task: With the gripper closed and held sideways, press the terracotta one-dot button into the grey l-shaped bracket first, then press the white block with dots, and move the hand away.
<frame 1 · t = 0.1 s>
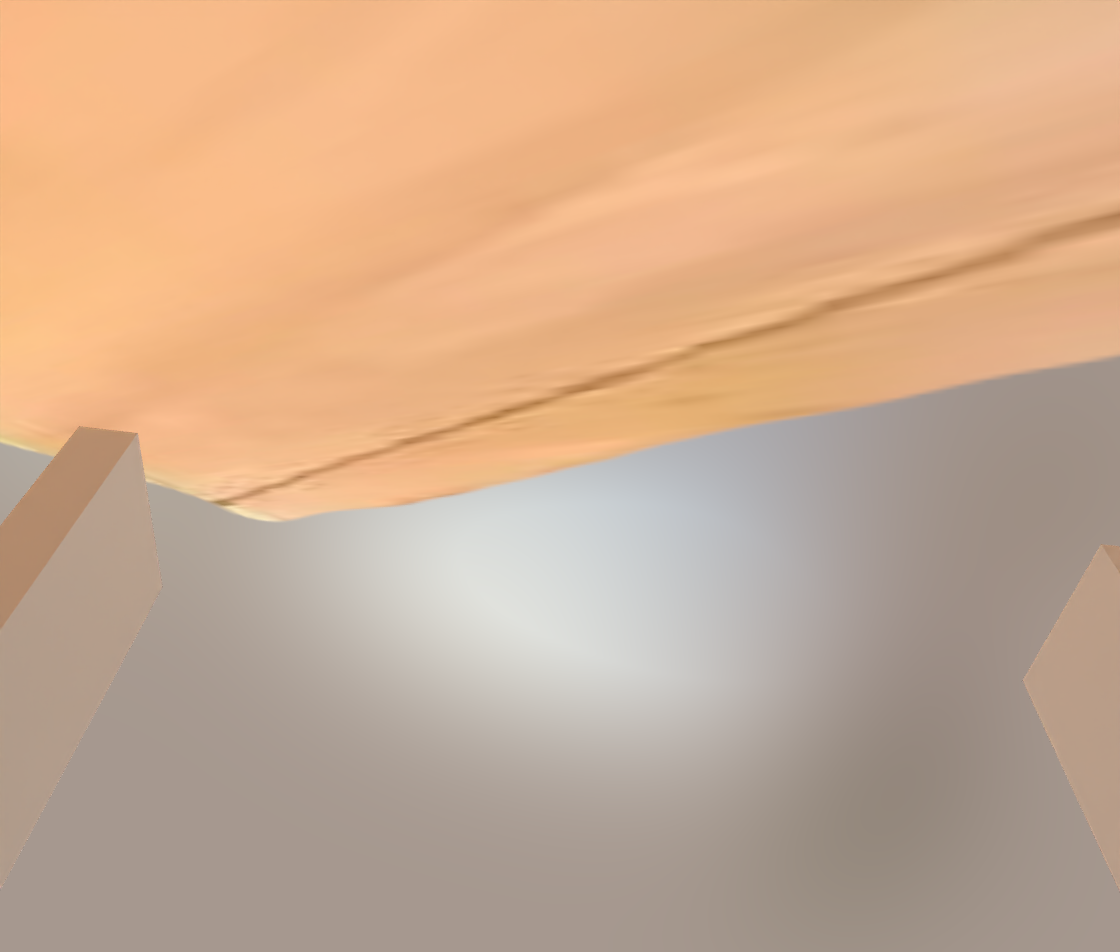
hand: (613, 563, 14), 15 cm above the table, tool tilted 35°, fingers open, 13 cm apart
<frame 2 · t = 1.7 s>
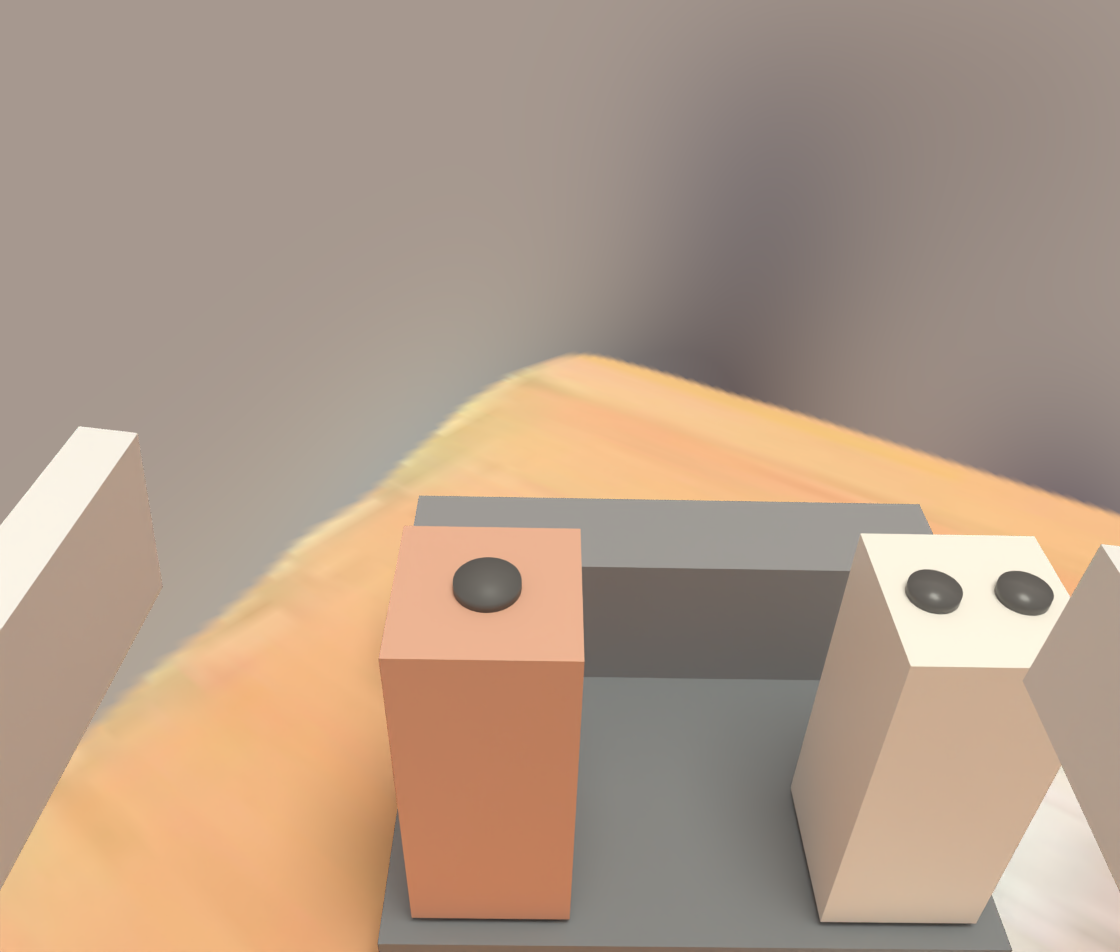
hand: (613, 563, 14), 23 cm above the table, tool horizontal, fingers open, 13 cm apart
button terracotta: (491, 730, 29), point 8 cm above the table, slide at 5.0 cm
white block with dots: (922, 736, 30), point 8 cm above the table, slide at 5.0 cm
grey l-shaped bracket: (661, 710, 41), on the table
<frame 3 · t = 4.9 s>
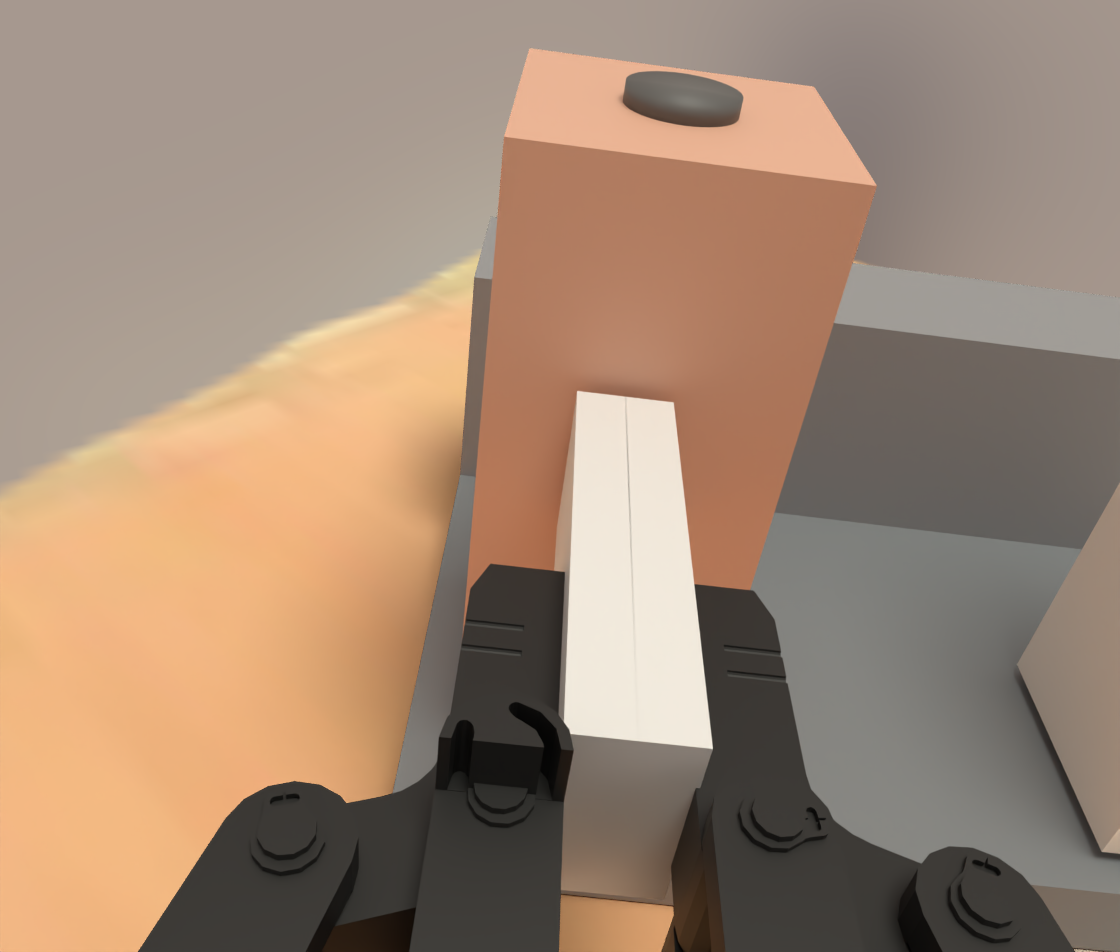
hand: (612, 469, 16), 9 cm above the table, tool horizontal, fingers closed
button terracotta: (621, 426, 18), point 8 cm above the table, slide at 3.8 cm, touching gripper
grey l-shaped bracket: (793, 569, 29), on the table
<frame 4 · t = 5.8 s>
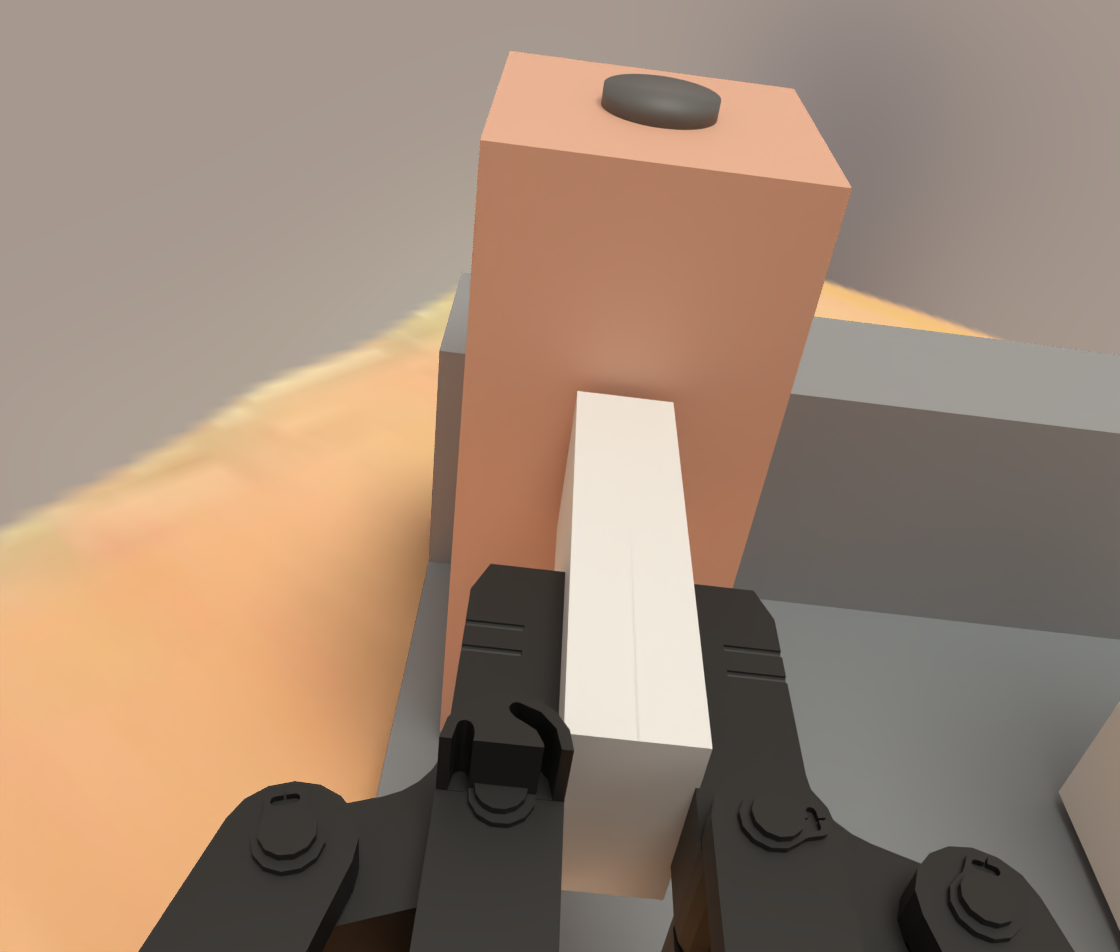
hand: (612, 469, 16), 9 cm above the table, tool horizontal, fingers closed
button terracotta: (604, 427, 19), point 8 cm above the table, slide at 0.1 cm
grey l-shaped bracket: (801, 660, 26), on the table
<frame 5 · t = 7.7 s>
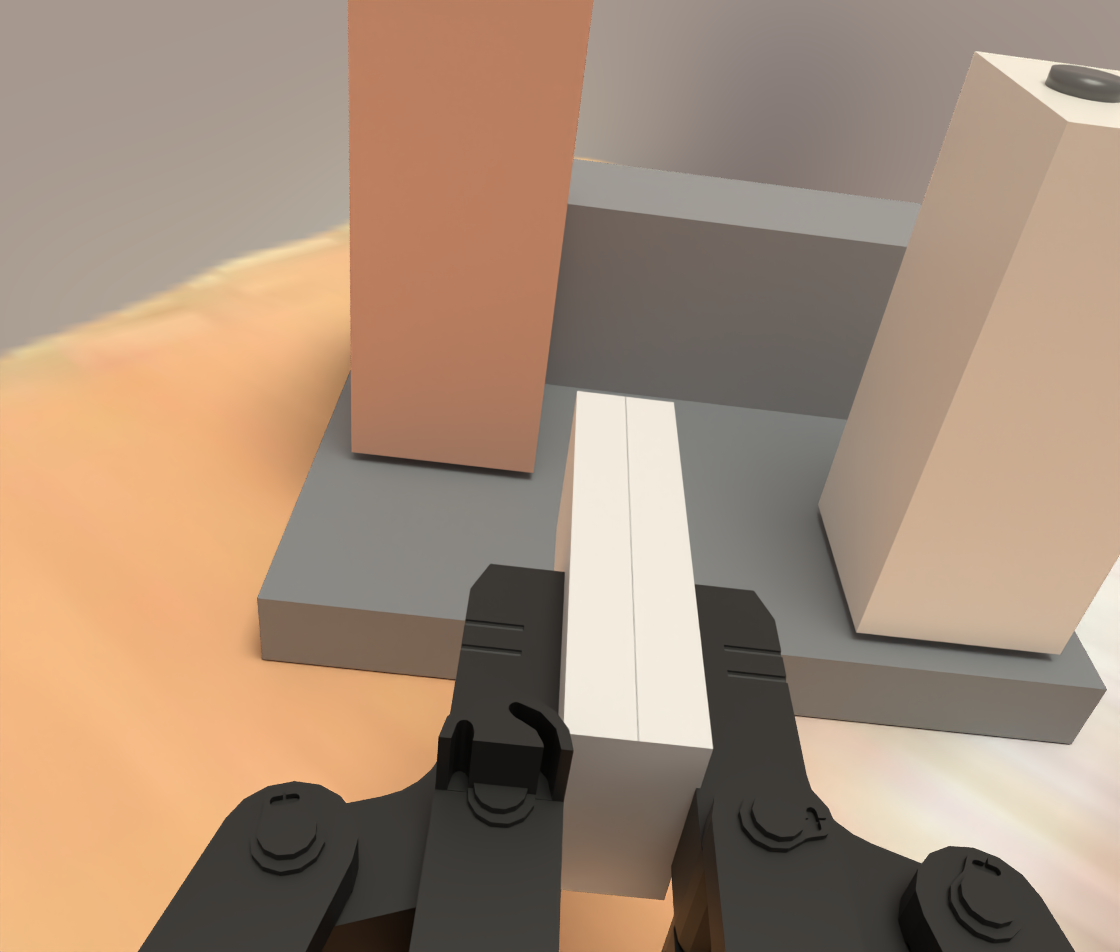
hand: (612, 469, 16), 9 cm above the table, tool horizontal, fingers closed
button terracotta: (466, 213, 25), point 8 cm above the table, slide at 0.0 cm
white block with dots: (1023, 368, 22), point 8 cm above the table, slide at 5.0 cm
grey l-shaped bracket: (653, 448, 33), on the table
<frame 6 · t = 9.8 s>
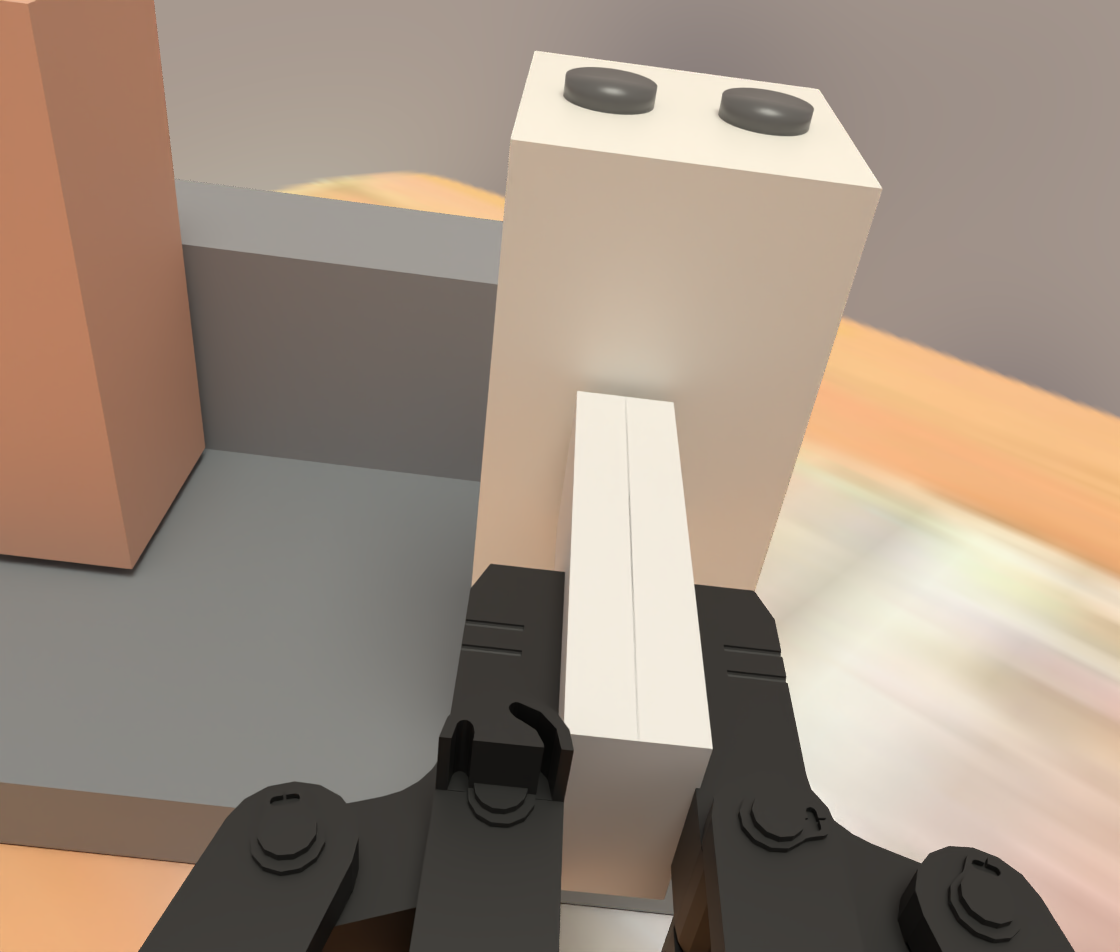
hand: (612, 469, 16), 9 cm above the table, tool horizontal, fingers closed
button terracotta: (20, 262, 21), point 8 cm above the table, slide at 0.0 cm
white block with dots: (626, 427, 18), point 8 cm above the table, slide at 3.6 cm, touching gripper
grey l-shaped bracket: (355, 522, 28), on the table
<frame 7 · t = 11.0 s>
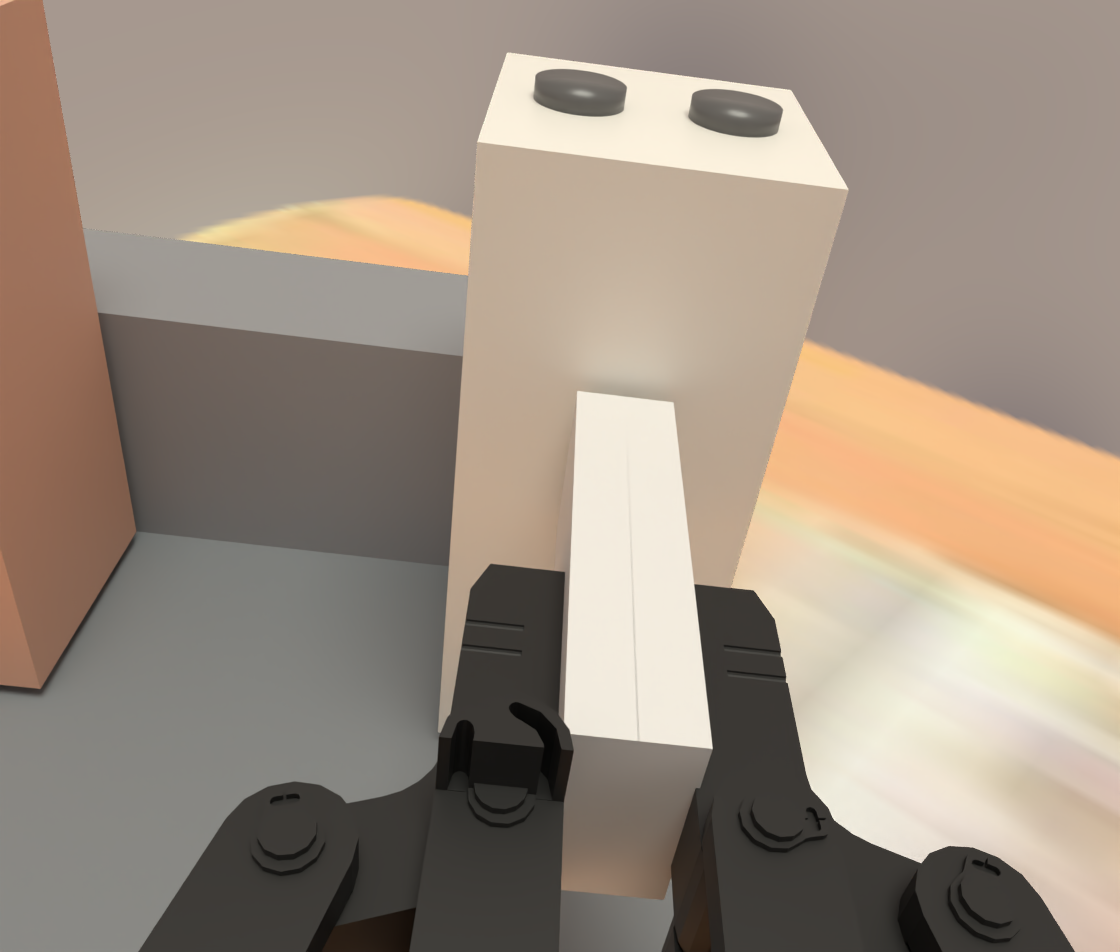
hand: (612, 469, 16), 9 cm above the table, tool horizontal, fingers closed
white block with dots: (602, 428, 19), point 8 cm above the table, slide at 0.1 cm, touching gripper
grey l-shaped bracket: (308, 608, 26), on the table
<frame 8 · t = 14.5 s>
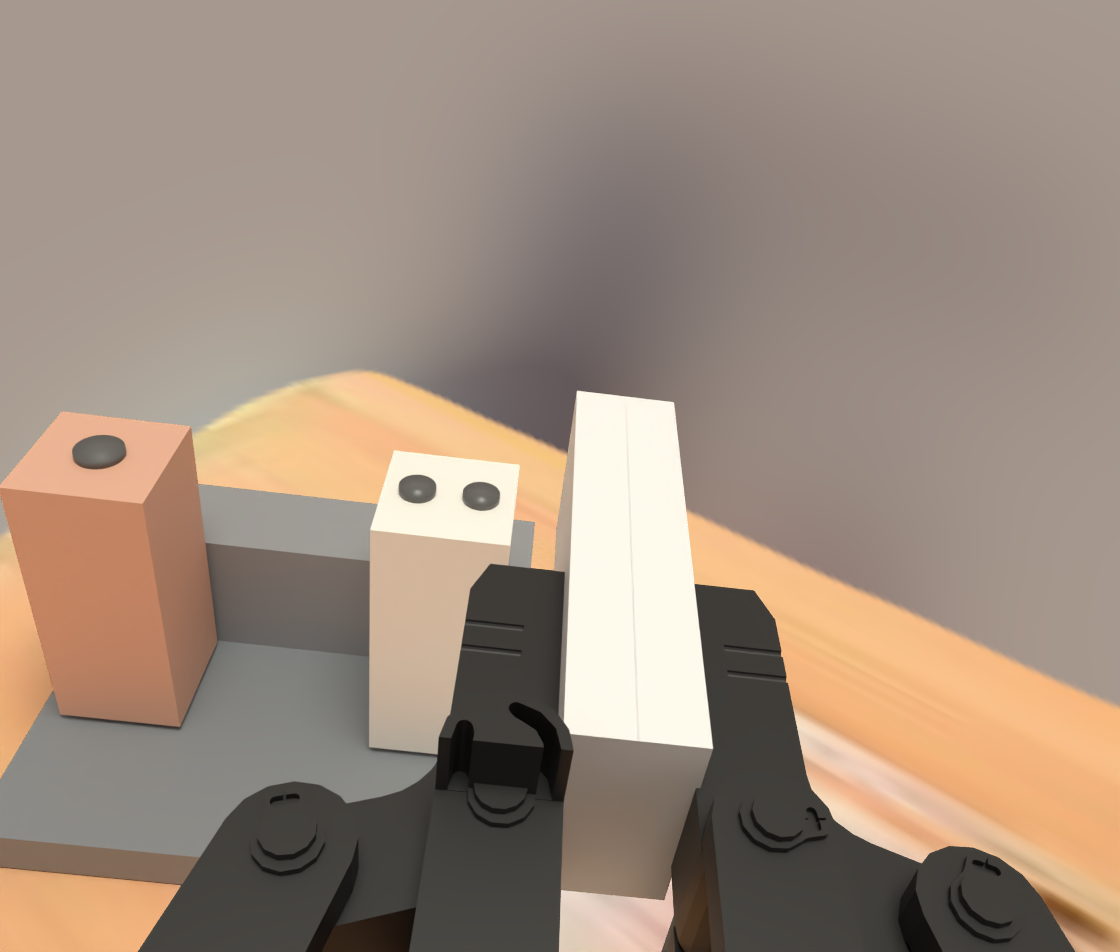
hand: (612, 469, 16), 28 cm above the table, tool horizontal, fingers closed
button terracotta: (122, 572, 40), point 8 cm above the table, slide at 0.0 cm
white block with dots: (441, 608, 40), point 8 cm above the table, slide at 0.1 cm
grey l-shaped bracket: (307, 678, 47), on the table
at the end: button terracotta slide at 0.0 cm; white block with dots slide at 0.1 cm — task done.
